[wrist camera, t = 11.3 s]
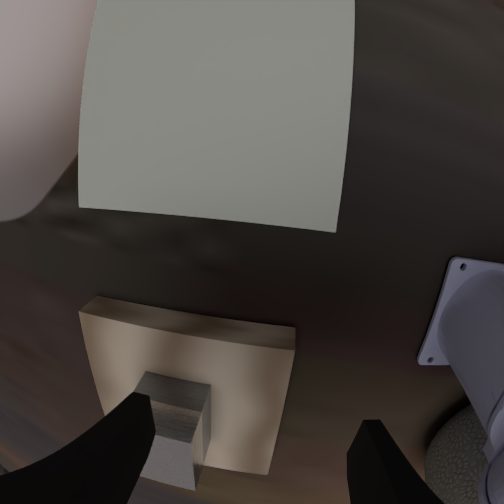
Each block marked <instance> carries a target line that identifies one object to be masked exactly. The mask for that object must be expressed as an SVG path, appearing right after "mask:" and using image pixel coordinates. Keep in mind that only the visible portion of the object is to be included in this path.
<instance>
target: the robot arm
mask: <svg viewBox="0 0 504 504" xmlns="http://www.w3.org/2000/svg"><path fill="white" fill-rule="evenodd" d="M462 263H464V266H463V267H462V268H461V269H460V266H461V264H462ZM430 357H431V358H430ZM428 358H430V359H428ZM417 361H418V363H419V364H420V365H450V366H451V368H452V369H453V371H454V373H455V375H456V376H457V378H458V380H459V382H460V384H461V385H462V387H463V389H464V391H465V393H466V395H467V396H468V398H469V400H470V402H471V404H472V406H473V408H474V410H475V412H476V414H477V416H478V418H479V420H480V422H481V424H482V426H483V428H484V430H485V432H486V434H487V435H488V440H487V442H486V444H485V446H484V447H483V451H484V453H485V455H486V458H487V460H488V462H489V463H488V464H487V466H486V467H485V469H484V470H483V473H482V475H481V477H480V481H479V485H478V500H479V504H504V264H502V263H496V262H489V261H483V260H476V259H470V258H463V257H453V258H452V259H451V260H450V262H449V264H448V268H447V271H446V275H445V279H444V282H443V285H442V289H441V292H440V295H439V298H438V302H437V305H436V308H435V311H434V314H433V317H432V319H431V322H430V325H429V328H428V331H427V333H426V336H425V339H424V341H423V344H422V346H421V349H420V352H419V354H418V356H417ZM155 434H156V428H155V423H154V418H153V413H152V407H151V401H150V396H149V395H145V394H141V393H137V392H132V393H130V394H129V395H128V396H127V397H126V398H125V399H124V400H123V401H122V402H121V403H119V404H118V405H117V406H116V407H115V408H114V409H113V410H112V411H110V412H109V413H108V414H107V415H106V416H105V417H103V418H102V419H101V420H100V421H99V422H97V423H96V424H95V425H94V426H92V427H91V428H90V429H89V430H87V431H86V432H85V433H83V434H82V435H80V436H79V437H78V438H76V439H75V440H73V441H72V442H71V443H69V444H68V445H66V446H65V447H63V448H61V449H60V450H58V451H56V452H55V453H53V454H51V455H49V456H48V457H46V458H44V459H42V460H39V461H37V462H35V463H33V464H31V465H29V466H26V467H24V468H21V469H19V470H16V471H13V472H10V473H7V474H4V475H1V476H0V504H127V502H128V500H129V498H130V495H131V493H132V491H133V489H134V487H135V485H136V482H137V480H138V478H139V476H140V474H141V472H142V470H143V467H144V465H145V463H146V461H147V458H148V456H149V453H150V450H151V447H152V444H153V441H154V437H155ZM347 480H348V487H349V494H350V501H351V504H445V503H444V502H443V501H442V500H441V499H440V498H439V497H438V496H437V495H436V494H435V493H434V492H433V491H432V490H431V489H430V488H429V487H428V485H427V484H426V483H425V482H424V481H423V480H422V478H421V477H420V476H419V475H418V473H417V472H416V471H415V469H414V468H413V467H412V465H411V464H410V463H409V461H408V460H407V459H406V457H405V456H404V454H403V453H402V452H401V450H400V449H399V447H398V446H397V444H396V443H395V441H394V440H393V438H392V437H391V435H390V434H389V432H388V431H387V429H386V428H385V426H384V425H383V423H382V422H381V420H363V422H362V424H361V426H360V428H359V430H358V432H357V434H356V436H355V438H354V440H353V442H352V444H351V446H350V448H349V450H348V452H347Z"/></svg>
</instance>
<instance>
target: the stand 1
mask: <svg viewBox="0 0 504 504" xmlns="http://www.w3.org/2000/svg"><path fill="white" fill-rule="evenodd" d="M354 21H355V0H98V1H97V5H96V9H95V14H94V19H93V24H92V29H91V34H90V39H89V46H88V51H87V58H86V65H85V72H84V81H83V89H82V99H81V100H82V101H81V111H80V127H79V152H78V191H79V207H84V208H98V209H111V210H123V211H136V212H147V213H159V214H170V215H181V216H191V217H202V218H212V219H222V220H231V221H241V222H250V223H259V224H268V225H277V226H286V227H294V228H303V229H311V230H319V231H327V232H336V226H337V219H338V212H339V205H340V198H341V191H342V183H343V175H344V166H345V157H346V148H347V138H348V128H349V117H350V104H351V91H352V75H353V54H354Z"/></svg>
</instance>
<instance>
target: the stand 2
mask: <svg viewBox="0 0 504 504" xmlns="http://www.w3.org/2000/svg"><path fill="white" fill-rule="evenodd" d="M79 316H80V321H81V326H82V331H83V336H84V340H85V345H86V349H87V354H88V358H89V362H90V366H91V370H92V373H93V377H94V381H95V384H96V388H97V391H98V395H99V398H100V401H101V405H102V408H103V411H104V414H105V416H106V415H107V414H108V413H109V412H110V411H112V410H113V409H114V408H115V407H116V406H117V405H118V404H119V403H121V402H122V401H123V400H124V399H125V398H126V397H127V396H128V395H129V394H130V393H132V392H133V391H134V389H135V388H136V386H137V384H138V383H139V381H140V380H141V378H142V376H143V375H144V373H145V371H148V372H153V373H157V374H161V375H165V376H170V377H174V378H179V379H184V380H189V381H194V382H199V383H204V384H209V385H211V440H210V444H209V447H208V451H207V454H206V457H205V461H204V464H203V465H206V466H211V467H217V468H222V469H228V470H234V471H241V472H248V473H256V474H264V475H267V474H268V470H269V466H270V462H271V458H272V454H273V450H274V446H275V442H276V438H277V434H278V429H279V425H280V421H281V416H282V412H283V407H284V403H285V398H286V393H287V389H288V384H289V379H290V374H291V369H292V364H293V359H294V354H295V327H286V326H278V325H269V324H261V323H254V322H246V321H239V320H232V319H225V318H218V317H212V316H205V315H199V314H193V313H187V312H181V311H175V310H169V309H163V308H158V307H152V306H147V305H142V304H136V303H131V302H126V301H121V300H116V299H112V298H107V297H102V296H96V297H95V298H94V299H92V300H91V301H90V302H89V303H88V304H87V305H85V306H84V307H83V308H82V309H81V310H80V311H79Z"/></svg>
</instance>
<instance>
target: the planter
mask: <svg viewBox="0 0 504 504" xmlns="http://www.w3.org/2000/svg"><path fill="white" fill-rule="evenodd" d="M487 440H488V435H487V434H486V432H485V430H484V428H483V426H482V424H481V422H480V420H479V418H478V416H477V414H476V412H475V410H474V408H473V406H472V404H470V405H468V406H466V407H465V408H463V409H462V410H460V411H459V412H457V413H456V414H455V415H454V416H453V417H451V418H450V419H449V420H448V421H447V422H446V423H445V424H444V425H443V426H442V428H441V429H440V430H439V431H438V432H437V434H436V435H435V437H434V438H433V440H432V441H431V443H430V445H429V447H428V450H427V452H426V456H425V462H424V470H425V482H426V484H427V485H428V487H429V488H430V489H431V490H432V491H433V492H434V493H435V494H436V495H437V496H438V497H439V498H440V499H441V500H442V501H443V502H444V503H445V504H479V500H478V485H479V481H480V477H481V475H482V473H483V470H484V469H485V467H486V466H487V464H488V463H489V462H488V460H487V458H486V455H485V453H484V451H483V447H484V446H485V444H486V442H487Z"/></svg>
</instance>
